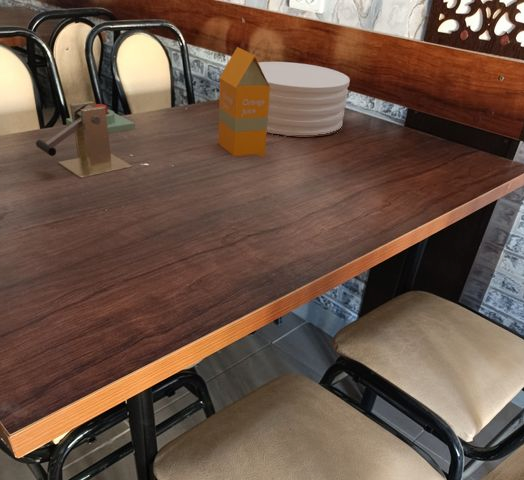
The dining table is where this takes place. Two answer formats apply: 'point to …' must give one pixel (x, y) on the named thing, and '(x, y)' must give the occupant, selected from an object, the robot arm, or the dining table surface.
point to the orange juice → (243, 105)
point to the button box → (113, 122)
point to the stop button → (102, 106)
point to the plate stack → (304, 98)
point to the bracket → (92, 144)
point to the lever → (61, 135)
